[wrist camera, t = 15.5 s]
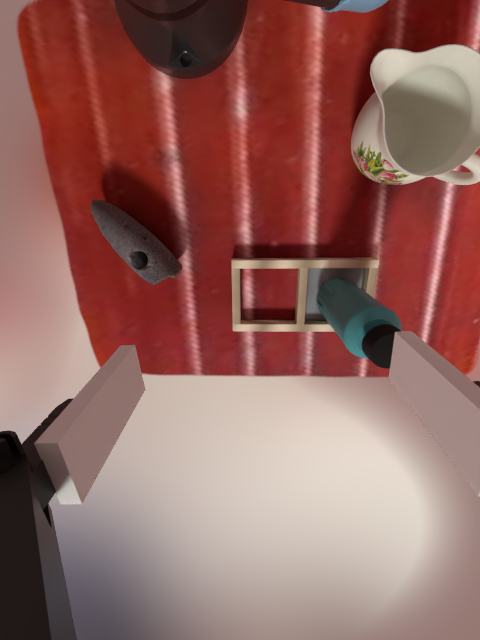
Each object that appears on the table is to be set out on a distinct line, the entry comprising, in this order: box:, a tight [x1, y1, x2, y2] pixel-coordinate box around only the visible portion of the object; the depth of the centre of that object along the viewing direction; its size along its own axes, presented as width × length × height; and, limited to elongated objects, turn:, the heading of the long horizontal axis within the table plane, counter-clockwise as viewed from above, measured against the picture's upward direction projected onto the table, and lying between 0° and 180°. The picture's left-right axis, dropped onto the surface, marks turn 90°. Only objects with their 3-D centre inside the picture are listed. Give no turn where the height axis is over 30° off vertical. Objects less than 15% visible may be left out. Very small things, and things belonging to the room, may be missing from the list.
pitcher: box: [351, 44, 480, 185], centre depth 33 cm, size 11×18×14 cm, turn 59°
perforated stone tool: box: [91, 200, 182, 285], centre depth 42 cm, size 15×5×7 cm, turn 42°
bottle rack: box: [232, 258, 379, 332], centre depth 46 cm, size 22×11×2 cm, turn 91°
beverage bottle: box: [316, 278, 402, 368], centre depth 37 cm, size 6×7×20 cm
